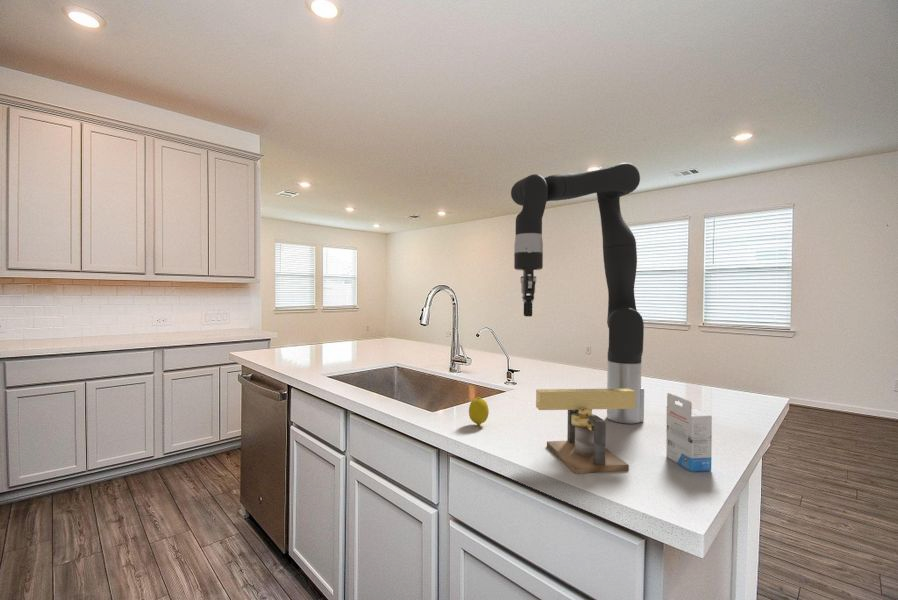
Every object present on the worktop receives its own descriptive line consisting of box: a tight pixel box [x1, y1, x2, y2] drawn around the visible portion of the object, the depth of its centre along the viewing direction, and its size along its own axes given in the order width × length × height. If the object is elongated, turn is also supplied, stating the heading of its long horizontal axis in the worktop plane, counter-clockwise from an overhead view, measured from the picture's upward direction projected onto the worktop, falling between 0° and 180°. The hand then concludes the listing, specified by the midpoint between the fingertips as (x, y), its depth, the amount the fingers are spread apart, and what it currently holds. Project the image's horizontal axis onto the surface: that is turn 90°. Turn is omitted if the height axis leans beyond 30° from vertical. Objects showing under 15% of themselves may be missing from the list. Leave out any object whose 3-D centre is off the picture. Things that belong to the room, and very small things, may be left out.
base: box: [546, 410, 630, 475], centre depth 91 cm, size 12×15×10 cm
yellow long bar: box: [535, 388, 636, 431], centre depth 91 cm, size 10×22×8 cm, turn 94°
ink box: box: [665, 392, 713, 472], centre depth 88 cm, size 9×5×15 cm, turn 5°
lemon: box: [468, 396, 490, 426], centre depth 113 cm, size 6×6×8 cm
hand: (527, 316), depth 109 cm, fingers closed
